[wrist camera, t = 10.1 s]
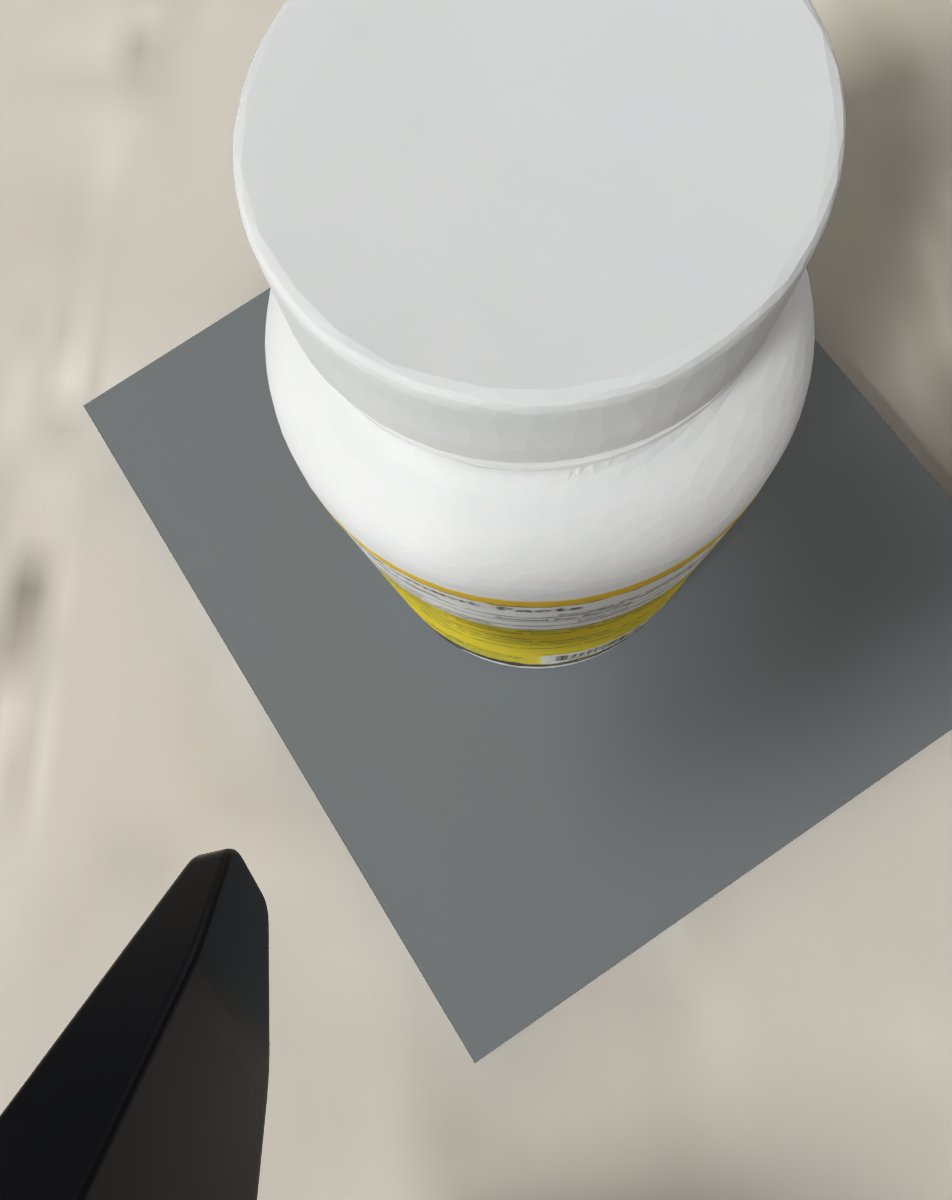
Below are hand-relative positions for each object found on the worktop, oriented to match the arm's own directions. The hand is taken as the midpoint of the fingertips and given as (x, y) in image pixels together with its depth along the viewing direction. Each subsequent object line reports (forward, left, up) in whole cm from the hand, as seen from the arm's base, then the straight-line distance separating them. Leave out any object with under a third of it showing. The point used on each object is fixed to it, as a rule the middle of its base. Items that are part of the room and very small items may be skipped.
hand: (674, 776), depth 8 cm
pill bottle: (+5, -2, -8) cm, 9 cm away
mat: (+5, -2, -9) cm, 10 cm away
